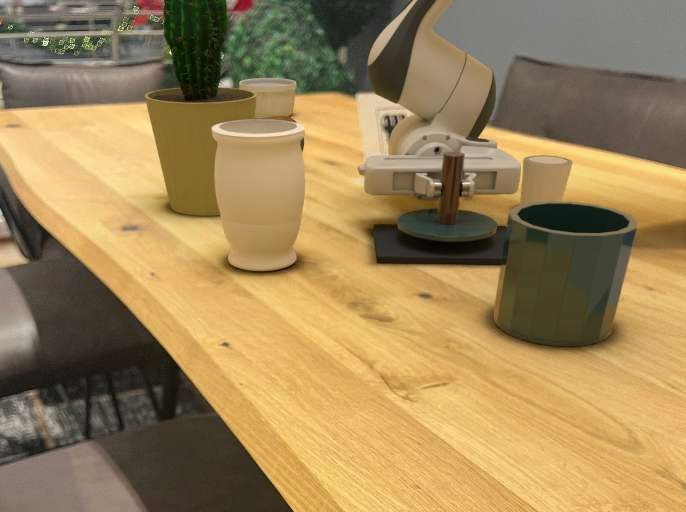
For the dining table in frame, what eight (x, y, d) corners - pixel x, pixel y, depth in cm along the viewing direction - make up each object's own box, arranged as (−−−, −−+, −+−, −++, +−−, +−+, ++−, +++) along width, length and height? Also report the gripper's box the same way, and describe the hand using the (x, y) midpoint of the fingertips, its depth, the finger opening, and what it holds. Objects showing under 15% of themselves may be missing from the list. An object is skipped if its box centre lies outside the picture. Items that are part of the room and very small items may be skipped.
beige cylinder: (561, 218, 109) (571, 166, 105) (512, 214, 111) (520, 162, 107) (564, 206, 114) (574, 156, 110) (518, 202, 116) (526, 152, 112)
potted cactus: (203, 226, 105) (183, -42, 87) (135, 205, 113) (104, -42, 96) (282, 205, 114) (278, -41, 96) (213, 187, 122) (198, -42, 105)
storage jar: (593, 303, 82) (616, 202, 76) (626, 347, 73) (655, 236, 67) (485, 301, 83) (500, 200, 76) (504, 345, 73) (523, 234, 67)
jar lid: (487, 218, 102) (497, 143, 97) (503, 247, 92) (516, 166, 87) (393, 216, 102) (398, 142, 97) (399, 246, 92) (405, 164, 87)
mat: (505, 231, 104) (506, 225, 103) (525, 265, 92) (526, 258, 92) (372, 229, 104) (373, 223, 104) (377, 263, 93) (377, 256, 92)
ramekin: (275, 122, 171) (274, 87, 167) (228, 116, 177) (226, 82, 173) (307, 114, 180) (307, 80, 176) (262, 108, 186) (261, 76, 182)
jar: (285, 280, 87) (283, 138, 79) (204, 269, 90) (194, 131, 82) (317, 253, 96) (318, 121, 87) (241, 243, 98) (236, 115, 90)
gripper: (356, 140, 102) (369, 163, 91) (506, 139, 103) (537, 162, 92) (354, 189, 106) (366, 217, 95) (499, 188, 107) (528, 216, 96)
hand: (452, 190), depth 93 cm, fingers closed on jar lid, 2 cm apart
